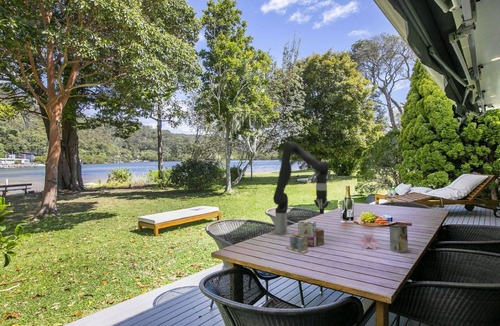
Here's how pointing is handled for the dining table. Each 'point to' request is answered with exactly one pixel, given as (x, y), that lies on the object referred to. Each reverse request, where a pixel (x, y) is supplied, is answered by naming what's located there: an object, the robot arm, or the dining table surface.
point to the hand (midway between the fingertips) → (321, 213)
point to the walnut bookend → (319, 237)
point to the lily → (368, 241)
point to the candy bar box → (308, 232)
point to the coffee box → (398, 238)
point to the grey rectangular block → (298, 243)
